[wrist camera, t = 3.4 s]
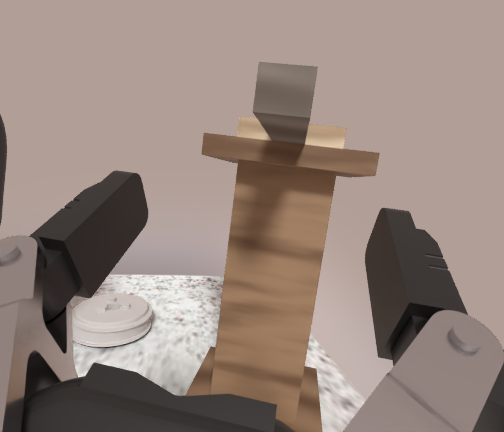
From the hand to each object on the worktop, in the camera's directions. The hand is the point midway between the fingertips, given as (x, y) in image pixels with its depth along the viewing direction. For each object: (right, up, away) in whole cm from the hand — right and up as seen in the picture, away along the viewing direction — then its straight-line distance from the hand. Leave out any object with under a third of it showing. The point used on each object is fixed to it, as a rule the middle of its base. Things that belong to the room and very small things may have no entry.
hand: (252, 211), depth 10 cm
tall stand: (0, -24, +29) cm, 37 cm away
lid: (-24, -20, +41) cm, 51 cm away
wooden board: (+3, +7, +18) cm, 20 cm away
